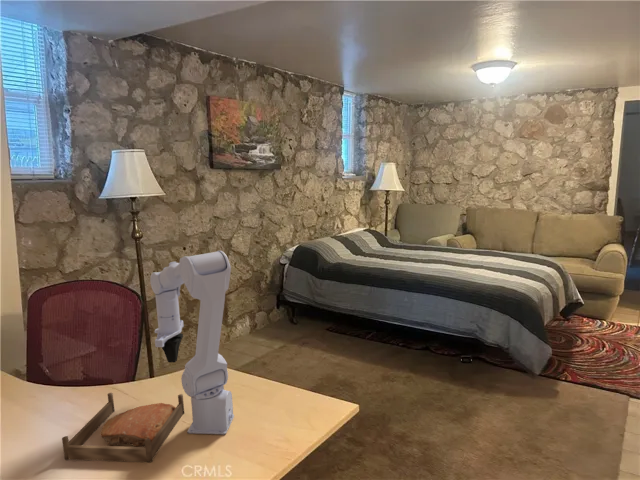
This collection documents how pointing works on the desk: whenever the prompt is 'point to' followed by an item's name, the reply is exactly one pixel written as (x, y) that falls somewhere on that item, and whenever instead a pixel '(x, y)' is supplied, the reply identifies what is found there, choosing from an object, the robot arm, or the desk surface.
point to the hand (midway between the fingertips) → (172, 361)
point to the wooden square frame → (114, 453)
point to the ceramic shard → (136, 425)
